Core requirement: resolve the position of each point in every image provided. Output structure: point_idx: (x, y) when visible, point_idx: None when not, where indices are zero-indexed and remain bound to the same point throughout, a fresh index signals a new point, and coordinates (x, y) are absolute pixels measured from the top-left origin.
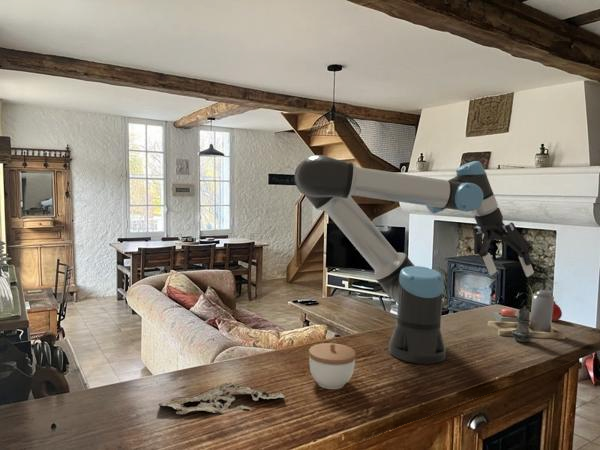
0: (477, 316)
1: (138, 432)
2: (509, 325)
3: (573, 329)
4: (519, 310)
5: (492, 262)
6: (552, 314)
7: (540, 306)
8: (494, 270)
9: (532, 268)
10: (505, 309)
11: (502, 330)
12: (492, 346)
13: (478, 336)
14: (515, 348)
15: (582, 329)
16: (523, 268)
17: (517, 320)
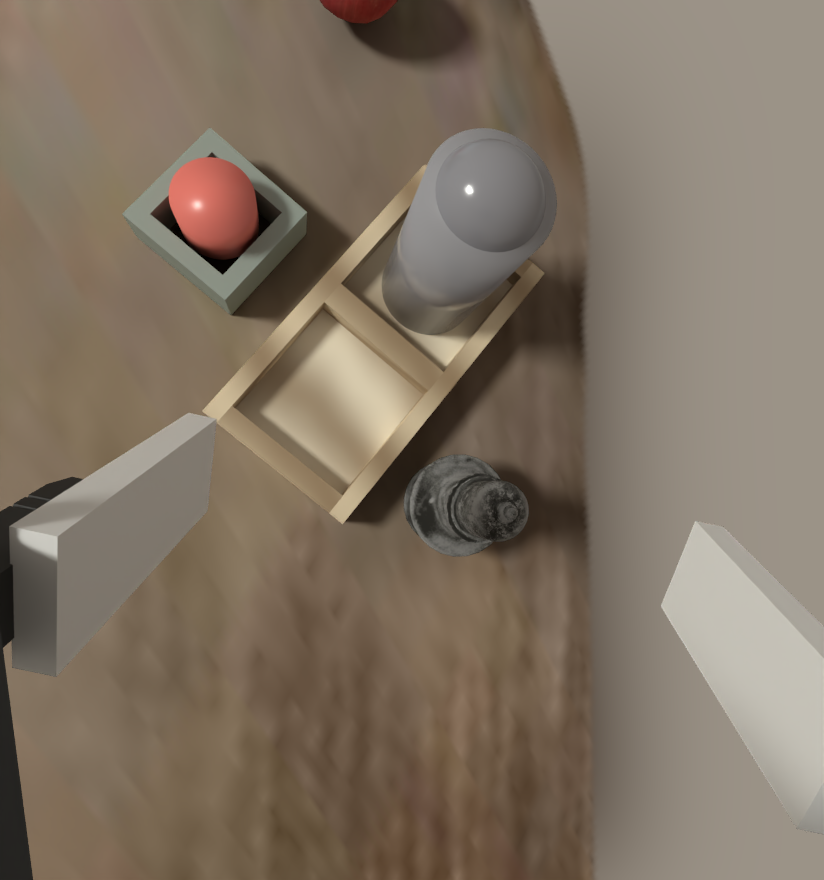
0: (32, 243)
1: None
2: (295, 336)
3: (463, 44)
4: (480, 533)
5: (152, 480)
6: (377, 7)
7: (487, 284)
8: (202, 458)
9: (748, 554)
10: (194, 197)
11: (351, 509)
12: (388, 663)
13: (264, 592)
14: (458, 584)
15: (486, 8)
16: (707, 674)
17: (288, 236)
